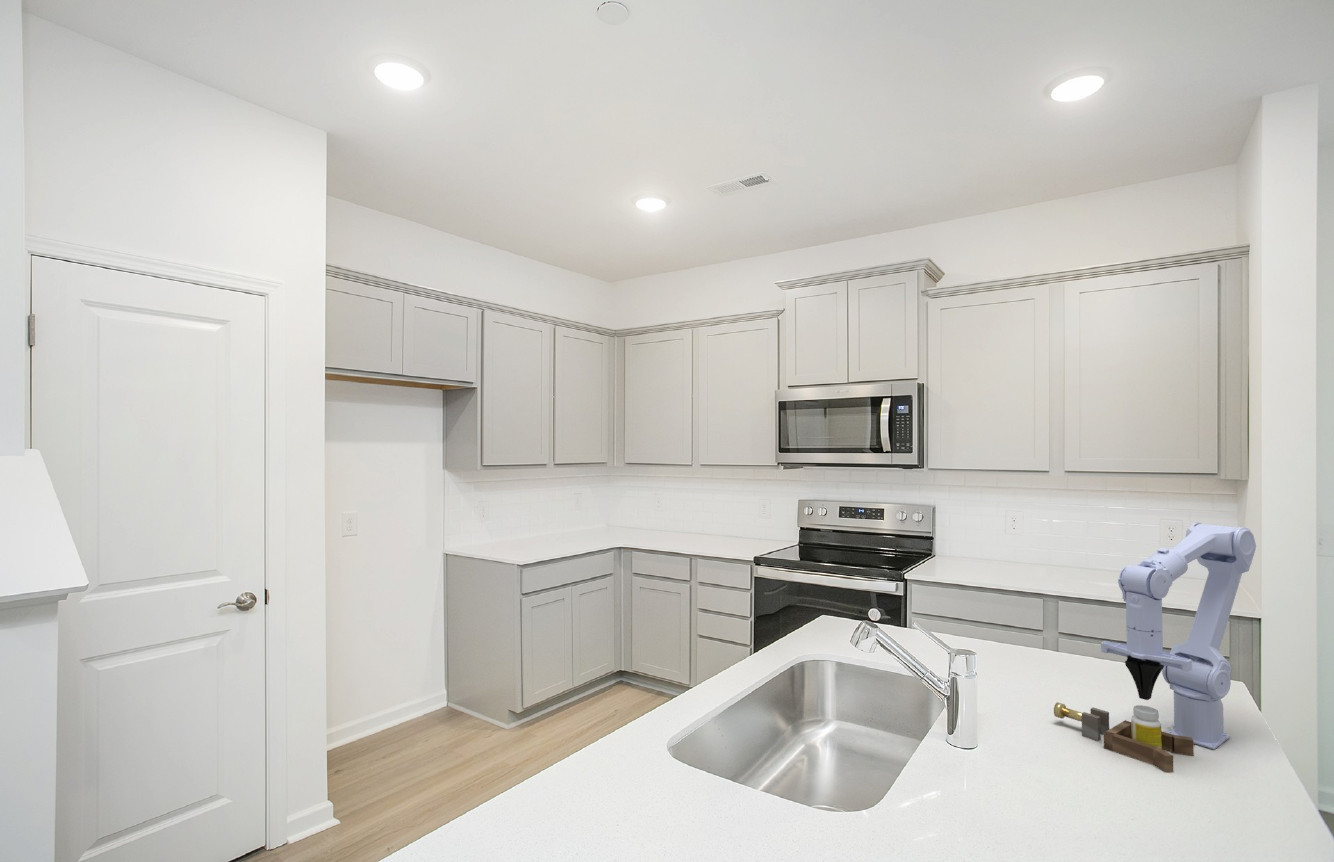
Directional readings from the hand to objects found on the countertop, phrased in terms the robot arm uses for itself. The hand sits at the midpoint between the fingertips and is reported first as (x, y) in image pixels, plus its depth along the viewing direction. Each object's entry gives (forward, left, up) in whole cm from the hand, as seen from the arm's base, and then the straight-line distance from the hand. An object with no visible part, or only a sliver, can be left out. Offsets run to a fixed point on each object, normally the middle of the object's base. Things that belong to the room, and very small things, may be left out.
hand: (1145, 698), depth 129 cm
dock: (0, -2, -10) cm, 11 cm away
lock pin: (0, -13, -9) cm, 16 cm away
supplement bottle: (0, 0, -11) cm, 11 cm away
